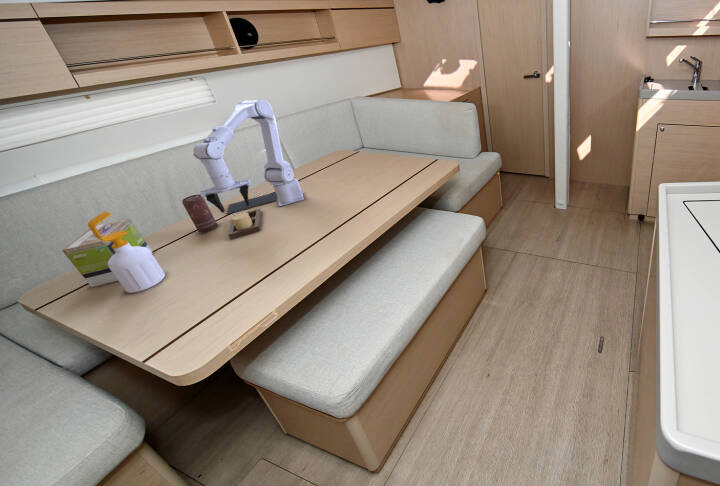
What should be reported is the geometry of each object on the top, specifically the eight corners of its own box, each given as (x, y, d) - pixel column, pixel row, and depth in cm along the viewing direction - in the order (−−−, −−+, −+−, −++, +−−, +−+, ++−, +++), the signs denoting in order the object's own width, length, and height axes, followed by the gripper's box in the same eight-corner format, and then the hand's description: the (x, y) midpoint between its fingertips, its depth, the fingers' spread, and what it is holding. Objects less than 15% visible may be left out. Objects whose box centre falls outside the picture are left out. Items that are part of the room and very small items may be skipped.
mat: (276, 192, 162) (276, 192, 162) (276, 200, 155) (276, 200, 154) (229, 205, 154) (229, 204, 154) (227, 214, 147) (226, 213, 146)
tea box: (118, 260, 121) (93, 224, 115) (154, 252, 124) (131, 216, 118) (89, 288, 108) (59, 249, 102) (130, 278, 111) (103, 239, 105)
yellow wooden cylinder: (254, 224, 137) (248, 211, 134) (254, 230, 133) (247, 216, 130) (238, 228, 135) (232, 215, 132) (237, 235, 130) (230, 221, 128)
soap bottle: (171, 276, 110) (128, 209, 100) (134, 296, 103) (83, 226, 92) (157, 270, 114) (114, 205, 103) (120, 289, 107) (70, 220, 96)
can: (222, 224, 139) (206, 193, 133) (208, 233, 133) (191, 201, 127) (209, 224, 140) (192, 193, 134) (194, 233, 134) (176, 201, 128)
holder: (261, 212, 146) (259, 208, 145) (259, 230, 132) (257, 226, 131) (235, 219, 142) (233, 215, 141) (230, 239, 128) (228, 234, 127)
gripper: (192, 184, 117) (210, 219, 123) (243, 172, 124) (258, 206, 130) (195, 177, 123) (213, 211, 129) (244, 166, 129) (259, 199, 135)
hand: (236, 208), depth 130 cm, fingers open, 7 cm apart
